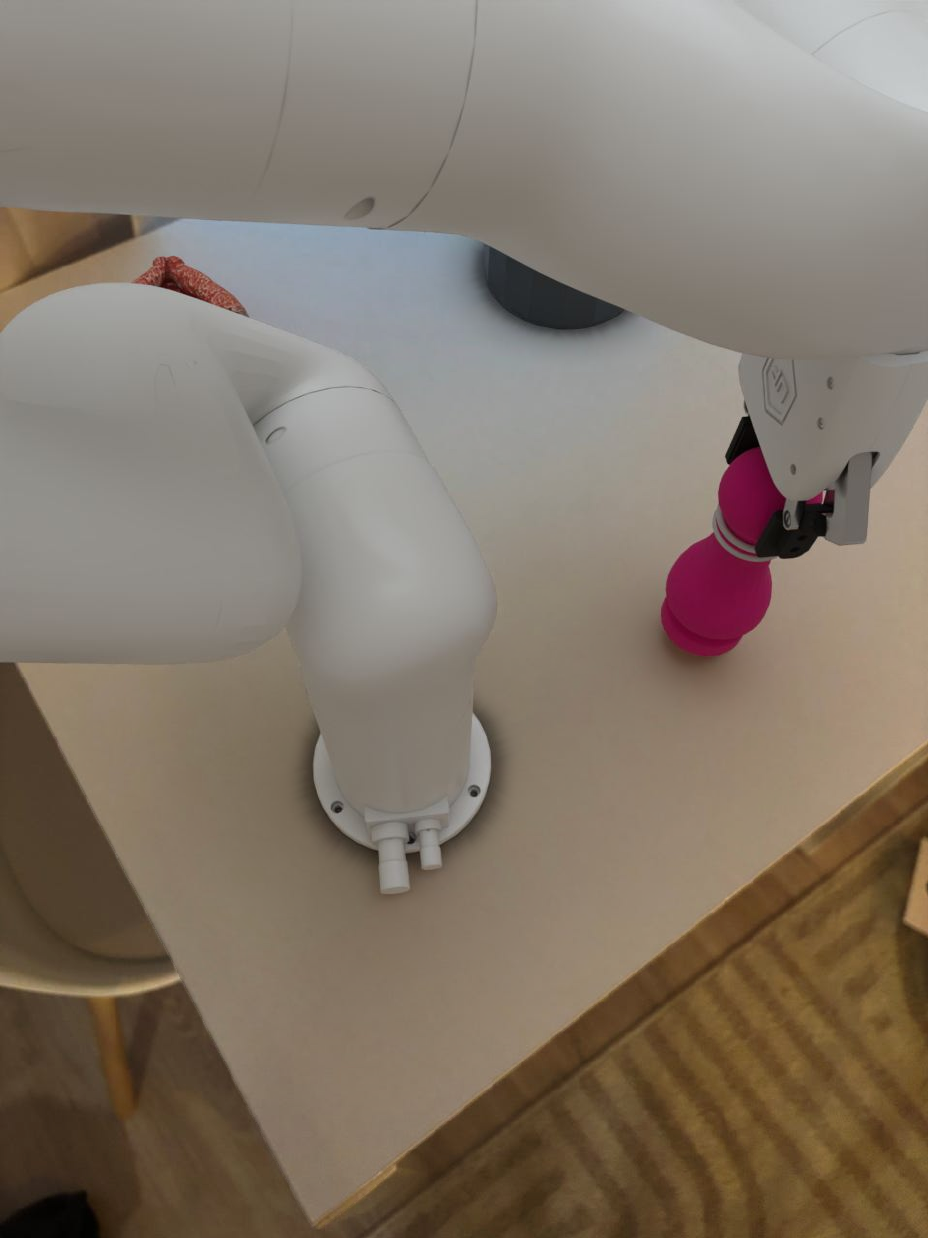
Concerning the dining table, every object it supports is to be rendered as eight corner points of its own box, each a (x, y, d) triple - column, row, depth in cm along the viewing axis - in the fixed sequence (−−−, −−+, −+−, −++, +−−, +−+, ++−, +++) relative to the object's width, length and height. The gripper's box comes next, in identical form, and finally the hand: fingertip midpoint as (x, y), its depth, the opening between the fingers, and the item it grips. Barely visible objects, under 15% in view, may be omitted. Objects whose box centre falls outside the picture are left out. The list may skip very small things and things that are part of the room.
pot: (654, 322, 88) (674, 248, 81) (496, 335, 87) (500, 261, 80) (622, 213, 95) (637, 135, 88) (475, 224, 94) (477, 146, 87)
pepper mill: (748, 583, 72) (852, 407, 54) (752, 668, 69) (865, 510, 51) (653, 574, 72) (727, 395, 55) (653, 658, 69) (731, 497, 51)
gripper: (757, 145, 45) (671, 400, 61) (875, 426, 37) (741, 636, 53) (905, 137, 46) (783, 392, 62) (1053, 412, 38) (868, 623, 54)
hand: (765, 503), depth 57 cm, fingers closed on pepper mill, 6 cm apart
